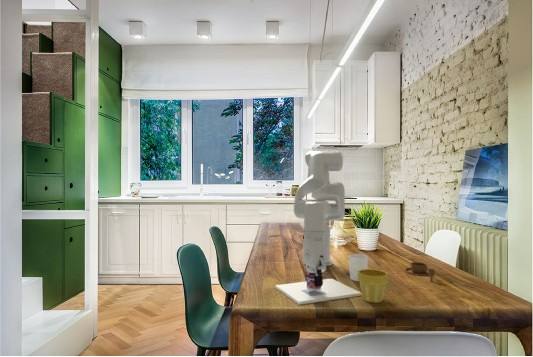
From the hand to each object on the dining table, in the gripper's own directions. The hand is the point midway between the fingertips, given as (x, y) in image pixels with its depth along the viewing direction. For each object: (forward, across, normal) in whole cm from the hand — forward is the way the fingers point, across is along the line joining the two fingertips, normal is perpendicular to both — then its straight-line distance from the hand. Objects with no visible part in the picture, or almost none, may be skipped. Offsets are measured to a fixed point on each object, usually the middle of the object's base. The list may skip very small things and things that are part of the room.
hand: (314, 283), depth 131 cm
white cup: (+5, -11, +28) cm, 30 cm away
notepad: (+4, -3, +3) cm, 6 cm away
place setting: (+5, -7, +57) cm, 58 cm away
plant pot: (+4, +12, +17) cm, 21 cm away
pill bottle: (+2, 0, 0) cm, 2 cm away
